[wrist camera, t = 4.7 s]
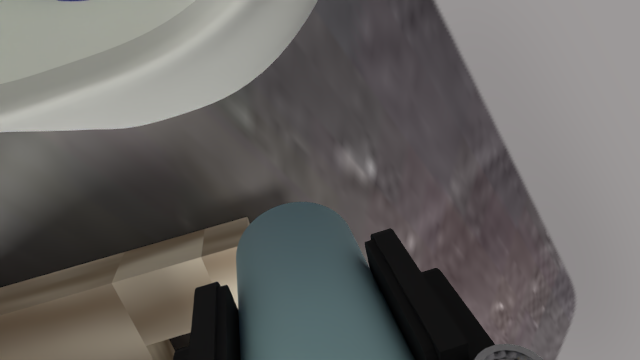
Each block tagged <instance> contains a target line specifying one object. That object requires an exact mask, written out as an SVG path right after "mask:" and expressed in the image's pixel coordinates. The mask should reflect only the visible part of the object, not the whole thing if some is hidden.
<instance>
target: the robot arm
mask: <svg viewBox="0 0 640 360" xmlns="http://www.w3.org/2000/svg"><path fill="white" fill-rule="evenodd" d="M365 248H366V252H367V257H368V262H369V267H370V270H371V272H372V274H373V276H374V278H375V280H376V282H377V284H378V286H379V288H380V290H381V292H382V294H383V296H384V298H385V300H386V302H387V304H388V306H389V308H390V310H391V312H392V314H393V316H394V318H395V320H396V322H397V324H398V326H399V328H400V330H401V332H402V334H403V336H404V338H405V340H406V342H407V344H408V346H409V348H410V350H411V352H412V354H413V356H414V358H415V360H543V359H542V358H541V357H540V356H539V355H537V354H536V353H534V352H533V351H531V350H529V349H526V348H524V347H521V346H518V345H512V344H497V345H495V344H494V343H493V341H492V340H491V338H490V337H489V336H488V334H487V333H486V332H485V330H484V329H483V328H482V326H481V325H480V324H479V322H478V321H477V319H476V318H475V317H474V315H473V314H472V313H471V311H470V310H469V309H468V307H467V306H466V305H465V303H464V302H463V301H462V299H461V298H460V296H459V295H458V294H457V292H456V291H455V290H454V288H453V287H452V286H451V284H450V283H449V282H448V280H447V279H446V277H445V276H444V275H443V273H442V272H441V271H440V270H439V269H437V268H434V269H431V270H428V271H424V272H421V271H420V270H419V268H418V267H417V265H416V264H415V262H414V261H413V259H412V258H411V256H410V255H409V253H408V252H407V250H406V249H405V247H404V246H403V244H402V243H401V241H400V240H399V238H398V237H397V235H396V234H395V232H394V231H393V230H392V229H391V228H390V229H387V230H384V231H380V232H377V233H374V234H371V240H370V241H367V242H365ZM173 360H241V358H240V336H239V314H238V308H237V306H236V303H235V301H234V298H233V296H232V294H231V291H230V289H229V287H228V285H224V286H220V284H219V283H218V282H214V283H210V284H207V285H204V286H201V287H197V288H196V289H195V292H194V303H193V314H192V325H191V336H190V346H188V347H184V348H181V349H178V350H176V351H175V353H174V356H173Z"/></svg>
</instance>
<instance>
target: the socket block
mask: <svg viewBox="0 0 640 360" xmlns="http://www.w3.org/2000/svg"><path fill="white" fill-rule="evenodd" d="M249 225H250V223H249V220H248V217H245V218H241V219H238V220H234V221H231V222H227V223H224V224H220V225H217V226H213V227H210V228H206V229H203V230H200V231H196V232H193V233H189V234H186V235H182V236H179V237H175V238H172V239H168V240H165V241H161V242H158V243H154V244H151V245H147V246H144V247H140V248H137V249H133V250H130V251H126V252H123V253H119V254H116V255H112V256H109V257H105V258H102V259H98V260H95V261H91V262H88V263H84V264H81V265H78V266H74V267H71V268H67V269H64V270H60V271H57V272H53V273H50V274H46V275H43V276H39V277H36V278H32V279H29V280H25V281H22V282H18V283H15V284H11V285H8V286H4V287H1V288H0V360H173V356H174V353H175V350H174V348H173V346H172V344H171V342H170V340H169V339H170V338H174V337H177V336H180V335H184V334H187V333H190V332H191V325H192V314H193V303H194V292H195V289H196V288H197V287H201V286H204V285H207V284H210V283H214V282H218V283H219V284H220V286H224V285H228V287H229V289H230V291H231V294H232V296H233V298H234V301H235V303H236V306H237V308H238V293H237V270H236V251H237V246H238V243H239V240H240V238H241V236H242V234H243V233H244V231H245V230H246V228H247V227H248V226H249Z"/></svg>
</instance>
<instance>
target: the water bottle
mask: <svg viewBox="0 0 640 360" xmlns="http://www.w3.org/2000/svg"><path fill="white" fill-rule="evenodd" d="M317 1H318V0H0V132H18V131H66V130H89V129H121V128H130V127H137V126H142V125H146V124H151V123H154V122H158V121H161V120H165V119H168V118H171V117H175V116H178V115H181V114H184V113H187V112H190V111H193V110H196V109H199V108H202V107H204V106H207V105H210V104H212V103H214V102H217V101H219V100H221V99H223V98H225V97H227V96H229V95H231V94H233V93H234V92H236V91H238V90H239V89H241V88H242V87H244V86H245V85H247V84H248V83H250V82H251V81H252V80H253V79H255V78H256V77H257V76H259V75H260V74H261V73H262V72H263V71H264V70H265V69H266V68H268V67H269V66H270V65H271V64H272V63H273V62H274V61H275V60H276V59H277V58H278V57H279V55H280V54H281V53H282V52H283V51H284V50H285V48H286V47H287V46H288V45H289V44H290V42H291V41H292V40H293V38H294V37H295V36H296V34H297V33H298V32H299V30H300V29H301V27H302V26H303V24H304V23H305V21H306V20H307V18H308V16H309V15H310V13H311V11H312V10H313V8H314V6H315V4H316V3H317Z"/></svg>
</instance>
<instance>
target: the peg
mask: <svg viewBox="0 0 640 360" xmlns="http://www.w3.org/2000/svg"><path fill="white" fill-rule="evenodd" d="M236 270H237V293H238V314H239V336H240V358H241V360H415V358H414V356H413V354H412V352H411V350H410V348H409V346H408V344H407V342H406V340H405V338H404V336H403V334H402V332H401V330H400V328H399V326H398V324H397V322H396V320H395V318H394V316H393V314H392V312H391V310H390V308H389V306H388V304H387V302H386V300H385V298H384V296H383V294H382V292H381V290H380V288H379V286H378V284H377V282H376V280H375V278H374V276H373V274H372V272H371V270H370V268H369V266H368V264H367V262H366V260H365V258H364V256H363V254H362V252H361V250H360V248H359V246H358V244H357V242H356V240H355V238H354V236H353V234H352V232H351V230H350V228H349V226H348V225H347V223H346V222H345V220H344V219H343V218H342V217H341V216H340V215H339V214H337V213H336V212H335V211H333V210H331V209H329V208H328V207H325V206H323V205H320V204H316V203H310V202H293V203H287V204H282V205H279V206H276V207H274V208H272V209H270V210H268V211H266V212H264V213H263V214H261V215H260V216H258V217H257V218H256V219H255V220H253V221H252V223H251V224H250V225H249V226H248V227H247V228H246V230H245V231H244V233H243V234H242V236H241V238H240V240H239V243H238V246H237V251H236Z"/></svg>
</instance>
